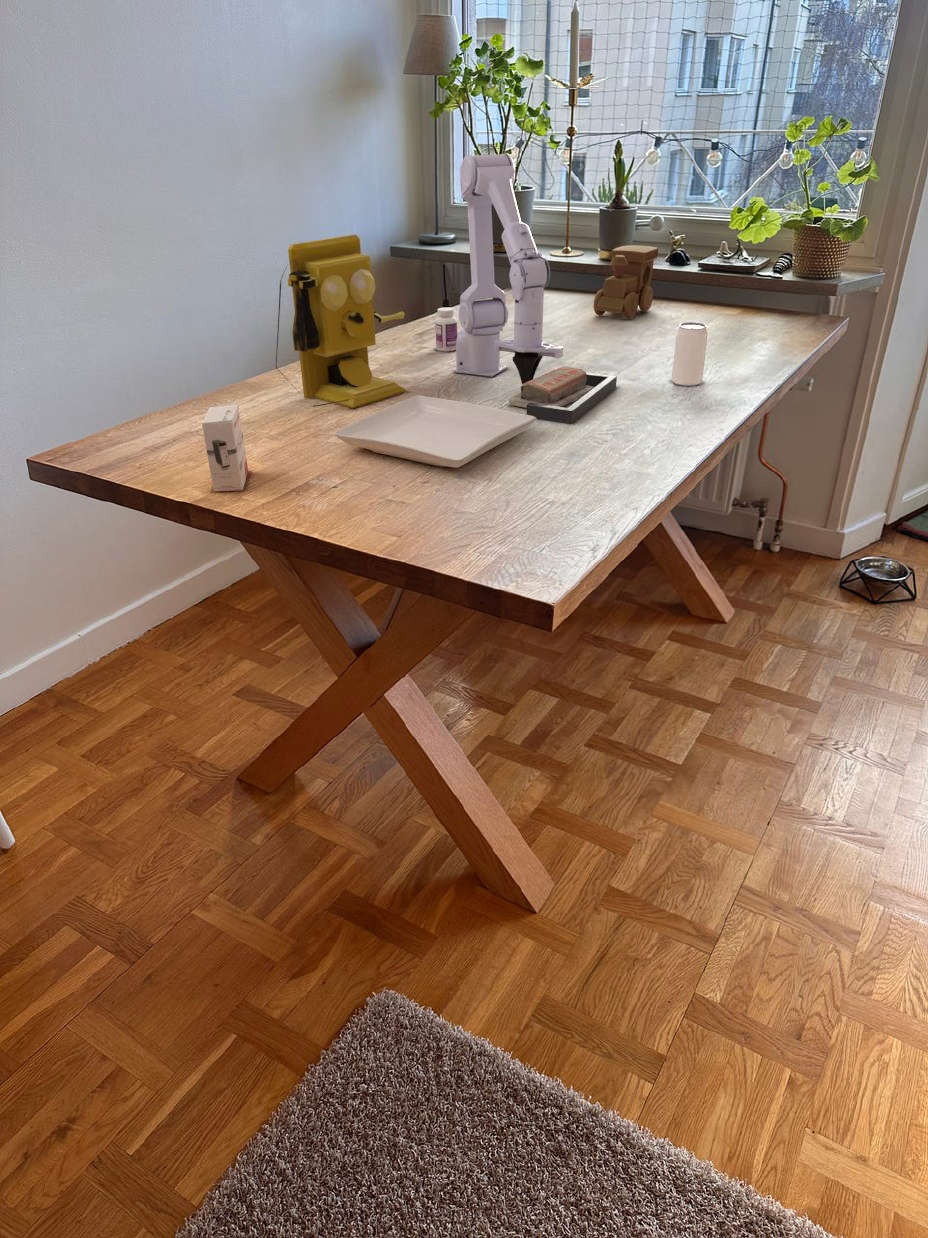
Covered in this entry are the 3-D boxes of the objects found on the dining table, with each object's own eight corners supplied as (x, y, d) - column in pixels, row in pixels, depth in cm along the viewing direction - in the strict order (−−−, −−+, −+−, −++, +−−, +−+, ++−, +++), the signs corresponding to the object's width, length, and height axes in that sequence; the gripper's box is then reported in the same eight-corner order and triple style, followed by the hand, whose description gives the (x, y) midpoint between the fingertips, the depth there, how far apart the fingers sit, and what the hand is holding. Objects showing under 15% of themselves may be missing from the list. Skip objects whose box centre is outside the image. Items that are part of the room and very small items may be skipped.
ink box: (220, 472, 152) (209, 404, 146) (249, 471, 153) (239, 403, 146) (212, 492, 145) (200, 421, 139) (242, 491, 145) (232, 420, 139)
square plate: (460, 480, 147) (460, 458, 145) (331, 452, 160) (329, 430, 158) (537, 433, 167) (538, 412, 165) (417, 410, 180) (416, 391, 178)
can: (703, 379, 195) (710, 322, 189) (700, 387, 190) (707, 329, 184) (673, 376, 197) (679, 320, 191) (669, 385, 192) (675, 327, 186)
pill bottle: (458, 346, 223) (458, 306, 218) (456, 351, 218) (455, 311, 214) (437, 346, 224) (436, 306, 219) (434, 351, 219) (433, 311, 214)
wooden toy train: (619, 304, 262) (624, 243, 253) (656, 308, 256) (662, 246, 248) (589, 318, 248) (592, 253, 239) (627, 322, 242) (632, 257, 234)
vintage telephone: (316, 420, 175) (300, 257, 160) (273, 406, 183) (253, 250, 168) (428, 385, 195) (423, 236, 179) (385, 373, 203) (376, 230, 188)
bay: (526, 417, 175) (526, 404, 174) (574, 382, 195) (575, 370, 194) (571, 423, 171) (572, 410, 170) (616, 387, 191) (617, 375, 190)
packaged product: (555, 362, 191) (596, 369, 186) (554, 384, 194) (595, 392, 188) (508, 382, 179) (550, 390, 174) (507, 405, 181) (549, 414, 176)
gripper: (487, 322, 179) (487, 389, 186) (554, 329, 174) (552, 398, 181) (502, 315, 185) (501, 380, 192) (568, 321, 179) (565, 389, 186)
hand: (527, 388), depth 186 cm, fingers closed
